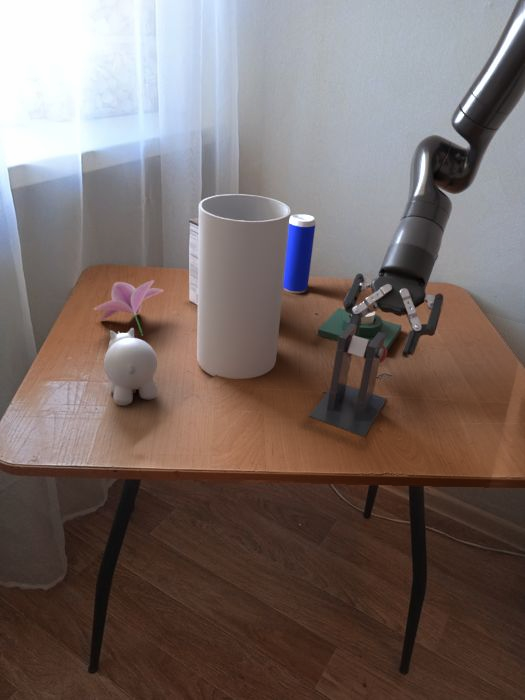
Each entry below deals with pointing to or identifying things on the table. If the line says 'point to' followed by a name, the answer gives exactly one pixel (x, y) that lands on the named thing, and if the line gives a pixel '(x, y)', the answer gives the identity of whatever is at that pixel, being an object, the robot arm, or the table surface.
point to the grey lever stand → (352, 388)
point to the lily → (127, 299)
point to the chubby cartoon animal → (130, 367)
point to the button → (368, 318)
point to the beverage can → (299, 253)
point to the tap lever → (362, 347)
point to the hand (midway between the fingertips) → (377, 347)
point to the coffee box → (193, 259)
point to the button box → (340, 323)
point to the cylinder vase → (240, 283)
